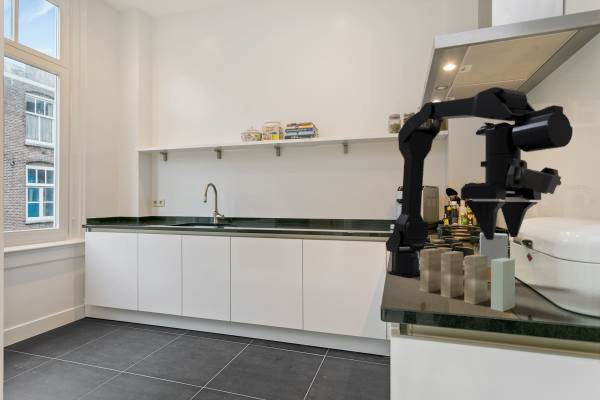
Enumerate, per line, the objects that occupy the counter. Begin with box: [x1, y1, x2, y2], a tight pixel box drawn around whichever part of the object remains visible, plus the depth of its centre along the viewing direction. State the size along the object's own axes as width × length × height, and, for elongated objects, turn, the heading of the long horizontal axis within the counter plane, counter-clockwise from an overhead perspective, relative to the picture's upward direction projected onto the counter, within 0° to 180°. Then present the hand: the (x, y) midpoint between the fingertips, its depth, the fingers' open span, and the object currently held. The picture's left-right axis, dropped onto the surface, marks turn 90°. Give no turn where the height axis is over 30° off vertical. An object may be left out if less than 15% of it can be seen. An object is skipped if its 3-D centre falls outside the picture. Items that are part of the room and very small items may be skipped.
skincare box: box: [479, 232, 509, 283], centre depth 82 cm, size 6×4×12 cm
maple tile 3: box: [463, 253, 488, 305], centre depth 66 cm, size 2×5×9 cm, turn 125°
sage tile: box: [490, 257, 516, 313], centre depth 62 cm, size 2×5×9 cm, turn 125°
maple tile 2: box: [440, 250, 464, 299], centre depth 70 cm, size 2×5×9 cm, turn 125°
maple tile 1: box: [419, 247, 443, 293], centre depth 74 cm, size 2×5×9 cm, turn 125°
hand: (502, 238), depth 62 cm, fingers open, 9 cm apart
